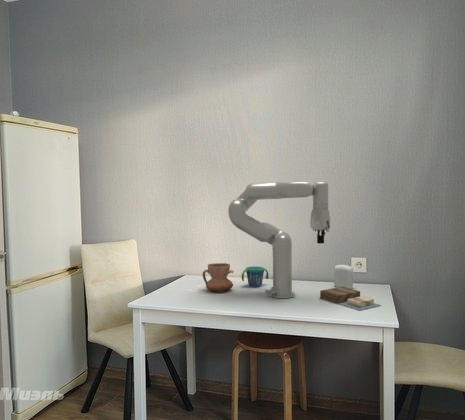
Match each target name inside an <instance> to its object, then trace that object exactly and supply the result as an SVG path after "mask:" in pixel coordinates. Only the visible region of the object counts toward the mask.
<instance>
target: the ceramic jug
mask: <svg viewBox="0 0 465 420" xmlns="http://www.w3.org/2000/svg"><path fill="white" fill-rule="evenodd" d="M230 268H231V264H230V263H227V262H222V263H219V262H218V263H217V262H214V263H208V264H207V269H204V270H203V271H202V279H203V281H204V283H205V287H206V289H207V290H209V291H210V292H215V293H223V292H224V293H225V292H227V291H230V290H231V289H232V288H234V287H233V286H234V283H233V281H232V280H230V279H229V278H227V277H228V276H229V274H230V273H231V274H233V273H234V272H235V271H234V270H233V269H230ZM206 273H208V274H209V275H210V277H211V278H210V279H209V280H208V281H207V278H206Z"/></svg>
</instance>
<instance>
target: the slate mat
mask: <svg viewBox="0 0 465 420" xmlns="http://www.w3.org/2000/svg"><path fill="white" fill-rule="evenodd" d="M338 305H341V306H344V307H346V308H350V309H353V310H356V311H365V310H369V309H374V308H377V307H378V308H379V307H381V306H382V305H381V304H378V303H376V302H374V304H373V305H369V306H365V307H360V308H358V307H354V306H351V305H348V304H347V302H343V303H339V304H338Z"/></svg>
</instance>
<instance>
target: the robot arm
mask: <svg viewBox="0 0 465 420" xmlns="http://www.w3.org/2000/svg"><path fill="white" fill-rule="evenodd" d="M311 196H312V209H311V211H310V212H311V213H310V224H309V225H310V226H309V227H310V228H311V230H312V231H313V232H314V233H315V235H316V236H317V237H316V243H317V244H325V236H326V234H327V233H329V232H330V229H331V216H330V209H329V183H328V182H326V181H316V182H312V181H311V182H309V181H297V182H281V181H275V182H273V181H271V182H270V181H269V182H254V183H253V182H252V183H249V184H248V185H246V188H245V190H243V192H242V193H241V194H239V196H238V197H237V198H236V199H234V200H232V201H231V202H230V203H229V205H228V209H227V210H228V211H227V212H228V218H229V220H230V221H231V223H232V225H233V226H234V227H236V228H237V229H238V230H240V231H242V232H244V233H246V234H247V235H248V236H250V237H253V239H256V240H257V241H259V242H262V243H268V244H269V245H270V246H271V247H272V282H273V283H272V286H271V288H269V289H266V290H264V292H265V294H267V295H268V294H269V296H270V297H272V298H276V299H290V298H291V299H292V298H294V297H295V296H296V293H295V292H294V291H293V288H292V287H293V276H292V275H293V274H292V273H293V269H292V267H293V265H292V264H293V263H292V259H293V258H292V257H293V256H292V255H293V254H292V253H293V252H292V249H293V247H292V245H293V244H292V243H293V242H292V241H293V240H292V237H291V236H290V234H289V233H287V232H285V231H284V230H282V229H280V228H278V227H277V226H274V225H273V224H271V223H269V222H265V221H263V222H261V221H259V220H257V219H255V218H253V216H250V215H249V214H247V211H248V210H249V209H251V207H252V206H253V205H254V204H255V203H256V202H258V200H280V199H281V200H282V199H293V198H294V199H295V198H297V199H298V198H308V197H311Z"/></svg>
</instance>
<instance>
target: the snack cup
mask: <svg viewBox="0 0 465 420" xmlns="http://www.w3.org/2000/svg"><path fill="white" fill-rule="evenodd" d="M265 272H266V275H265V279H266V280H268V279H269V271H268V269H266V268H265V267H262V266H255V265H253V266H246V268H245V269H244V270H243V271H242V272H241V280H242V282H245V280H244V279H245V273H246V277H247V283H248V286H249V287H250V288H251V287H252V288H257V287H261V286H262V285H263V280H264V274H265Z"/></svg>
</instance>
